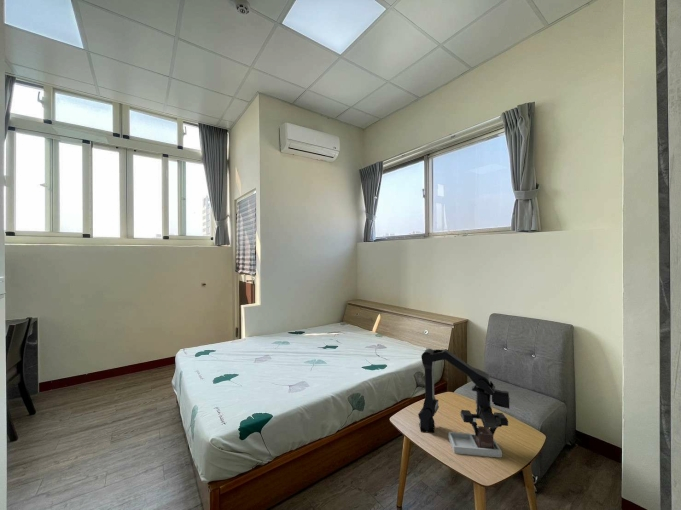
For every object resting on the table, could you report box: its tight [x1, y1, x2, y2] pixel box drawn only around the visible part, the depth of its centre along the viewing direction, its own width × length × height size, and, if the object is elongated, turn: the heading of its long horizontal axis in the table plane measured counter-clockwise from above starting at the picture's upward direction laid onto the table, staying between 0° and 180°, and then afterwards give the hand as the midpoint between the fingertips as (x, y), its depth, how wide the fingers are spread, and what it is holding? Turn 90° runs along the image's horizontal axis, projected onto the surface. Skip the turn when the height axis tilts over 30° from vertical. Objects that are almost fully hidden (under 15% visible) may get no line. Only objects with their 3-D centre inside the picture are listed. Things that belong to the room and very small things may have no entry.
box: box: [474, 425, 495, 449], centre depth 123 cm, size 6×6×7 cm
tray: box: [447, 431, 503, 458], centre depth 123 cm, size 20×11×3 cm, turn 82°
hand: (483, 436), depth 123 cm, fingers open, 6 cm apart
